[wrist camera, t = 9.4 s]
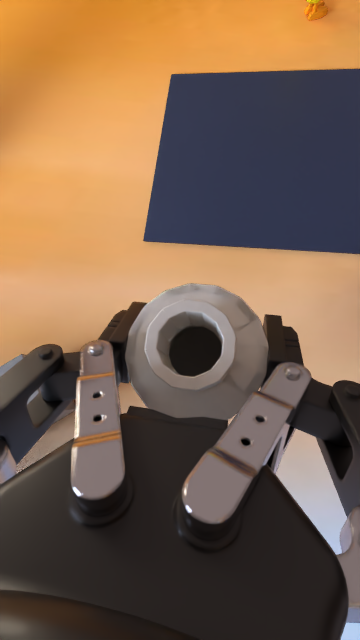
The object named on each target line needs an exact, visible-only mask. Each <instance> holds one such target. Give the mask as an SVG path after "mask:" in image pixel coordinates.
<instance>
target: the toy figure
mask: <svg viewBox="0 0 360 640" xmlns="http://www.w3.org/2000/svg"><path fill="white" fill-rule="evenodd" d="M306 1H307V2H309V5H308V6H307V7H306V9H305V10H304V13H305V14H306V15H308V14H309V15H308V16H307V18H308V20H309V21H310V20H315V19H319V18H322V17H323V16H325V15H326V14H327V12H328V8H327V7H326V6H324V1H323V0H306Z"/></svg>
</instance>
